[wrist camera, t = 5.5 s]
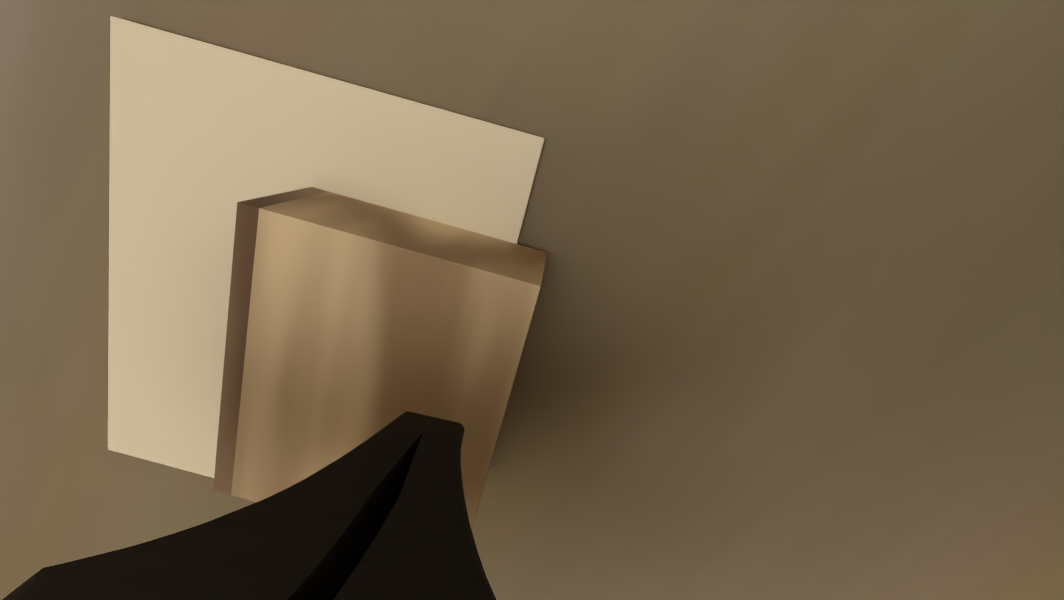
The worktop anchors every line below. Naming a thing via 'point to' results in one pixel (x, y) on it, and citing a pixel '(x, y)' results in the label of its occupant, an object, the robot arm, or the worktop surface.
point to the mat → (247, 173)
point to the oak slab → (363, 336)
